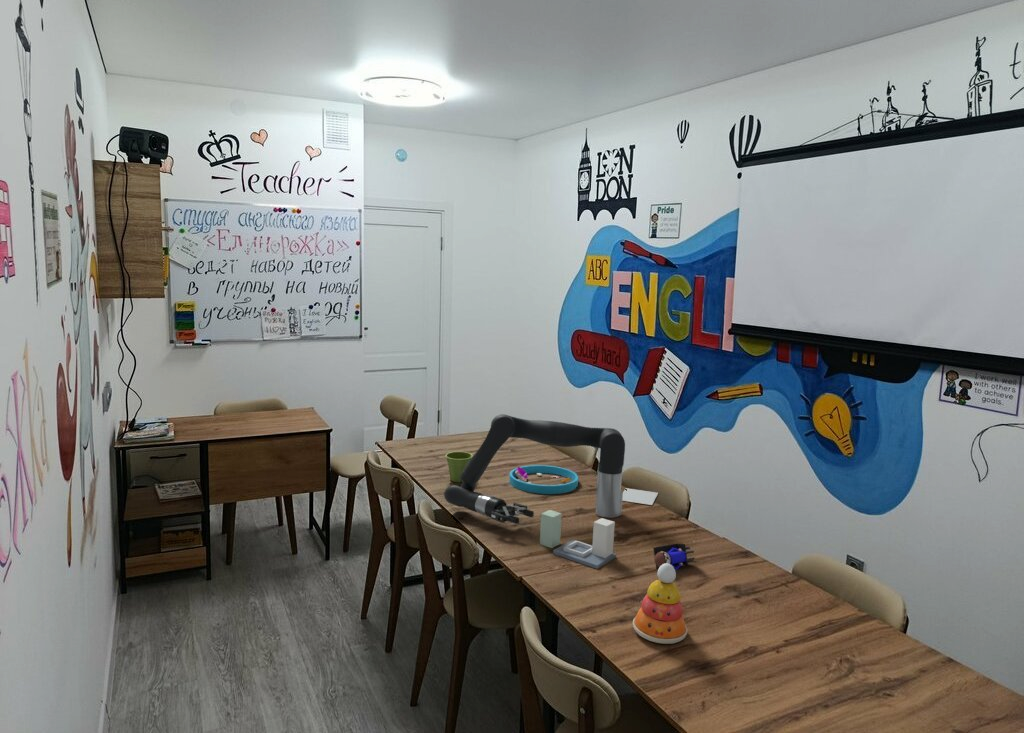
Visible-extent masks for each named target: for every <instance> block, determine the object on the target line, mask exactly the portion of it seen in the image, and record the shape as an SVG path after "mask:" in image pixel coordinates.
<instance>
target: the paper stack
mask: <svg viewBox="0 0 1024 733" xmlns="http://www.w3.org/2000/svg"><path fill="white" fill-rule="evenodd" d="M625 489H627V491H626V490H625ZM625 489H624V490H623V499H622V502H630V503H636V504H642V505H650V506H653V504H654V502H655V500H656V499H657V496H658V495H659V492H655V491H649V490H643V489H635V488H628V487H626V488H625Z"/></svg>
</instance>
